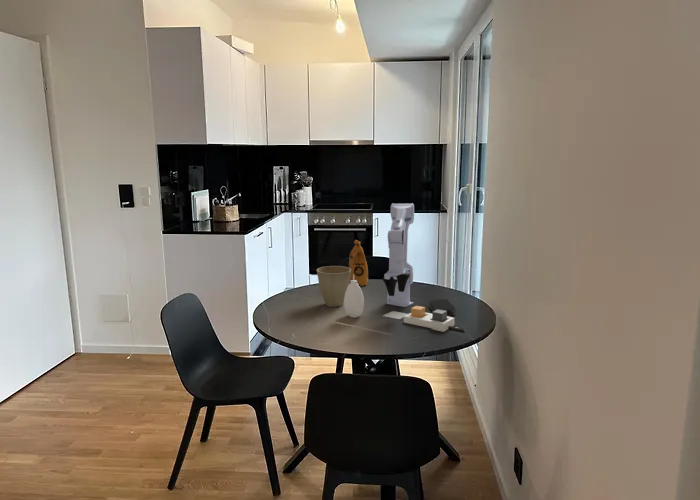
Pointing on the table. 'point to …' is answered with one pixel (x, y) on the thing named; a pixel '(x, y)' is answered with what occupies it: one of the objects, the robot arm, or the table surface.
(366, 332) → the table surface
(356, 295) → the sauce bottle
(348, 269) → the plant pot
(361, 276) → the coffee package
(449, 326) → the white slotted board
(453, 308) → the black sponge
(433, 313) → the dark grey block
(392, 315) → the grey mat
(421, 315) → the orange plug
